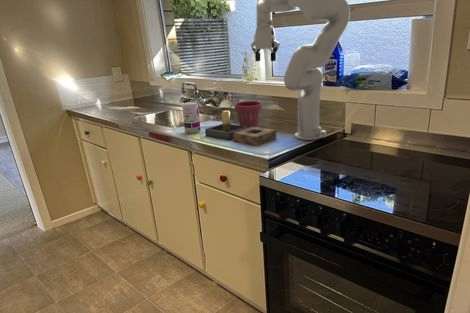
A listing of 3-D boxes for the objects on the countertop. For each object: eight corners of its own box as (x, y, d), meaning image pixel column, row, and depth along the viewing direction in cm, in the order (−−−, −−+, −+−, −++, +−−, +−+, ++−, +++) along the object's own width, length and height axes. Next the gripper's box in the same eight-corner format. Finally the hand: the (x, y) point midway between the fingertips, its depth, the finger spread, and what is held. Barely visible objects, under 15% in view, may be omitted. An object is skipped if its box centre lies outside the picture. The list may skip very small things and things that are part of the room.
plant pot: (263, 129, 177) (262, 104, 173) (236, 131, 177) (234, 106, 173) (261, 123, 191) (260, 100, 187) (235, 125, 191) (234, 101, 187)
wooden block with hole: (276, 138, 161) (276, 129, 159) (257, 145, 151) (256, 137, 150) (253, 134, 170) (252, 126, 169) (233, 141, 160) (233, 132, 159)
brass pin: (232, 132, 172) (231, 110, 169) (227, 134, 169) (226, 112, 166) (226, 131, 175) (225, 110, 171) (221, 133, 172) (220, 111, 168)
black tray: (248, 133, 172) (248, 126, 171) (228, 140, 162) (228, 133, 161) (225, 129, 182) (224, 123, 181) (205, 135, 173) (205, 128, 172)
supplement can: (201, 129, 186) (198, 101, 181) (200, 133, 178) (197, 104, 173) (186, 130, 186) (183, 102, 181) (184, 134, 178) (181, 105, 173)
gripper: (283, 23, 166) (283, 60, 172) (255, 25, 178) (256, 60, 183) (274, 23, 161) (274, 61, 167) (245, 26, 173) (247, 61, 178)
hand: (265, 61), depth 175 cm, fingers open, 9 cm apart
